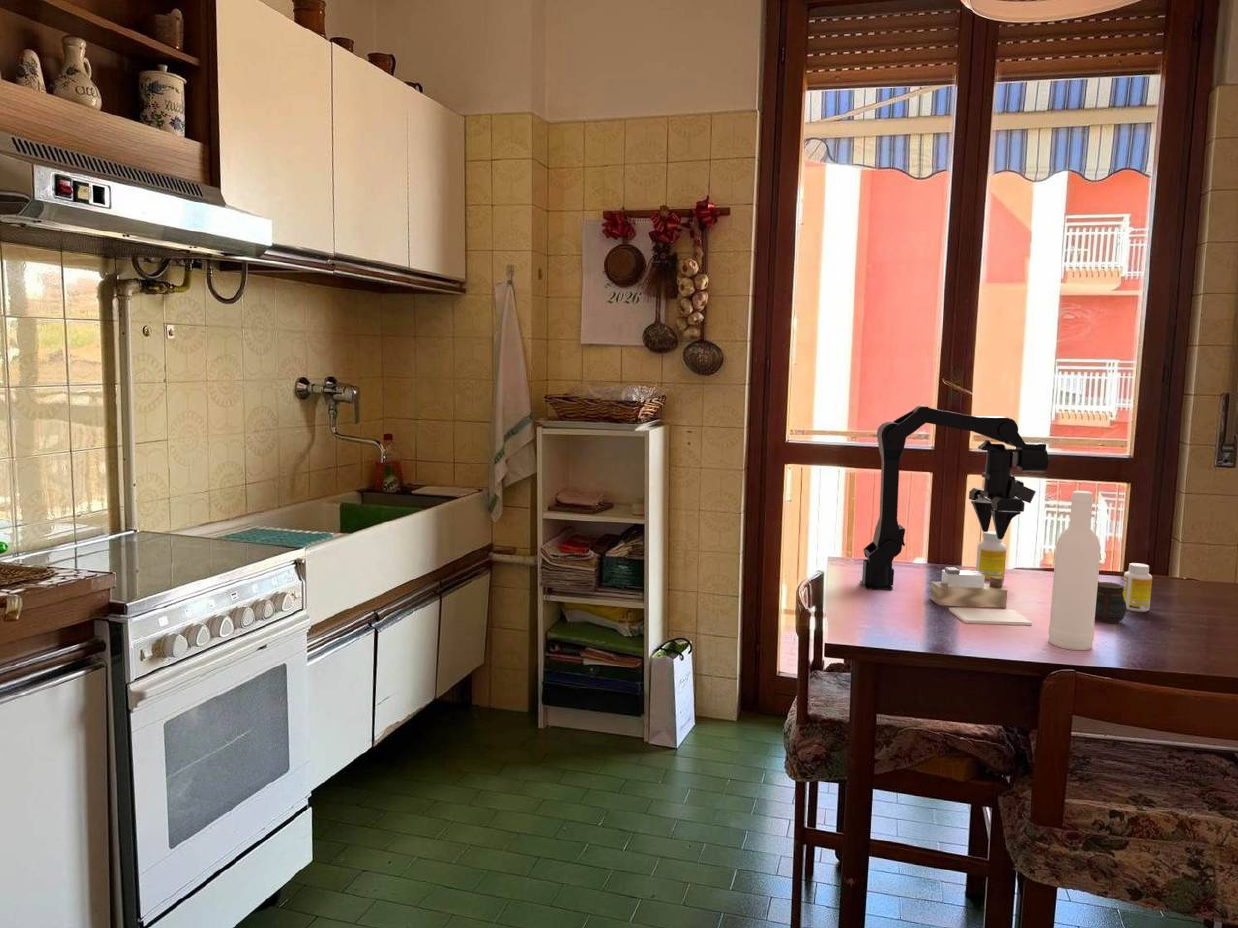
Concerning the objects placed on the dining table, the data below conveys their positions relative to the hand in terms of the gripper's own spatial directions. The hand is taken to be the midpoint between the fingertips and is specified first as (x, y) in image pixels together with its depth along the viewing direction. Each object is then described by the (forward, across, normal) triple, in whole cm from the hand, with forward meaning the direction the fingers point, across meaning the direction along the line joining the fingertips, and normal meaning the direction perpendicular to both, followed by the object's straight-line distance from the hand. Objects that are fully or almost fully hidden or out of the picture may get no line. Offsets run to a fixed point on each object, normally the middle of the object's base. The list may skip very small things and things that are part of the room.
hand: (992, 535), depth 219 cm
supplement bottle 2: (+14, -11, -29) cm, 34 cm away
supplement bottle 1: (+14, +10, -4) cm, 18 cm away
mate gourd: (+14, -22, -17) cm, 31 cm away
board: (+14, -23, +8) cm, 28 cm away
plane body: (+14, -11, +9) cm, 20 cm away
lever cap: (+10, -11, +10) cm, 18 cm away
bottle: (+14, -41, 0) cm, 43 cm away
